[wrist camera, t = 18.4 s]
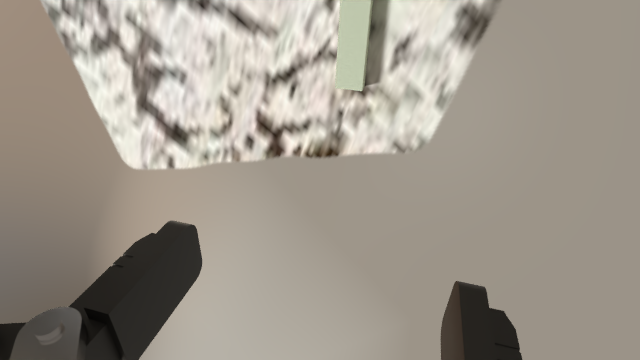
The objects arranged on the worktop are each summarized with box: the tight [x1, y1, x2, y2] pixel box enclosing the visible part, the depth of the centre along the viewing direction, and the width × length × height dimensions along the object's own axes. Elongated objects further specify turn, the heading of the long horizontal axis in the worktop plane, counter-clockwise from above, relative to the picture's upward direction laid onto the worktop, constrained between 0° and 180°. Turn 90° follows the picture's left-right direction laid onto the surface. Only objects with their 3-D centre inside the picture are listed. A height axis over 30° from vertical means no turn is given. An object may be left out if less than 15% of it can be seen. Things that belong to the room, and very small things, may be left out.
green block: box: [335, 0, 373, 91], centre depth 43 cm, size 11×20×2 cm, turn 178°
